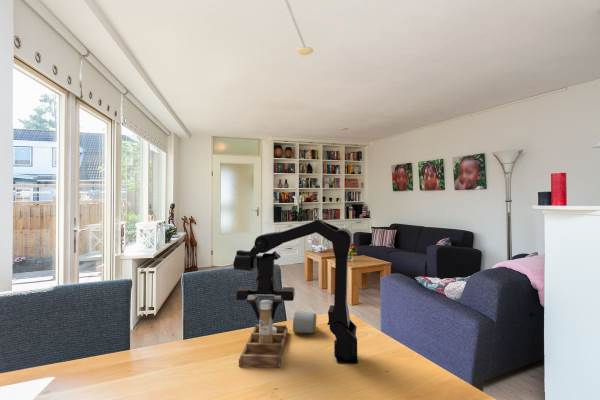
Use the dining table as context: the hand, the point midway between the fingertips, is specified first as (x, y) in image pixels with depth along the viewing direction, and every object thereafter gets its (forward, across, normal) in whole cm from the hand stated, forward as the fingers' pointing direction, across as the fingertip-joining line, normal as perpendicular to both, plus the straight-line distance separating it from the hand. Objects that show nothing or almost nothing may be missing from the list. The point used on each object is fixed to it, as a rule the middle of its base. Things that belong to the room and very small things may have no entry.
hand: (266, 319), depth 99 cm
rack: (+9, 0, 0) cm, 9 cm away
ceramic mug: (+10, -12, -14) cm, 21 cm away
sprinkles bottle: (+8, 0, 0) cm, 8 cm away
